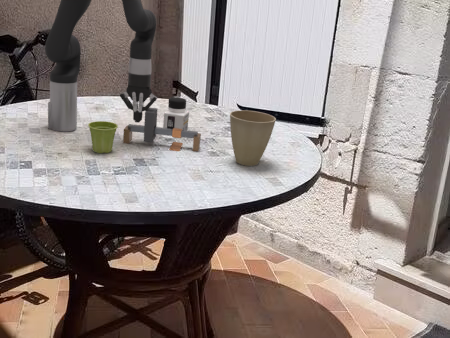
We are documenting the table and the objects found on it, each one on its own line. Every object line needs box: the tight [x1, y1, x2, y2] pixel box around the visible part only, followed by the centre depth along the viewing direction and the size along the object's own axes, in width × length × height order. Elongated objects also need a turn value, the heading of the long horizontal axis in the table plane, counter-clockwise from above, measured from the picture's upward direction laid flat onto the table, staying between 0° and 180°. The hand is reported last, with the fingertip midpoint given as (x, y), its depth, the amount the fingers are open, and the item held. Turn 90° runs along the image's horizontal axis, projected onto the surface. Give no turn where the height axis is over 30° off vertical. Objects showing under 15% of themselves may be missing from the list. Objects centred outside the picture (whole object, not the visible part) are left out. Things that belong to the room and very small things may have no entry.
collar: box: [143, 107, 158, 143], centre depth 192 cm, size 3×7×10 cm, turn 177°
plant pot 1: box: [87, 120, 119, 154], centre depth 181 cm, size 9×9×9 cm
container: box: [162, 96, 190, 131], centre depth 210 cm, size 8×8×13 cm
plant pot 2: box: [229, 109, 277, 167], centre depth 183 cm, size 15×15×16 cm
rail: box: [122, 123, 202, 152], centre depth 193 cm, size 26×9×6 cm, turn 87°
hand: (137, 121), depth 192 cm, fingers closed
